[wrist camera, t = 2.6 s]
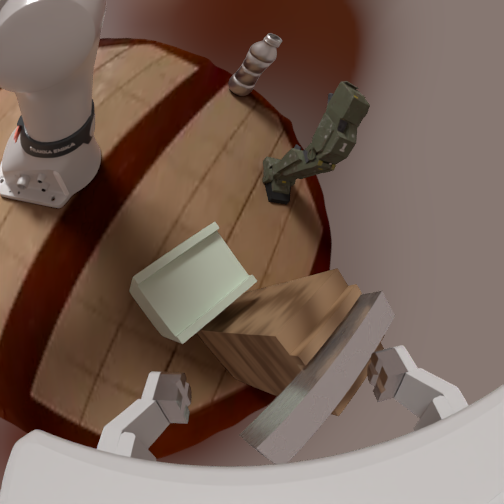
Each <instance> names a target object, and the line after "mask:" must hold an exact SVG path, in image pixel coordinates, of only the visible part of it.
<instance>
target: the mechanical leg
mask: <svg viewBox="0 0 504 504" xmlns="http://www.w3.org/2000/svg"><path fill="white" fill-rule="evenodd" d="M356 89H358V88H357V87H355V86H354V85H352V84H351V83H349V82H347V81H344V82H340V84H339V86H338V88H337V89H336V91H335V93H334V94H332V93H330V94H329V95H328V105H327V109H326V113H324V115H323V117H322V120H321V122H320V124H319V126H318V128H317V130H316V132H315V134H314V136H313V138H312V143H310V145H309V146H308V147H307V148H306V149H305V150H304V151H301V147H299V146H298V145H296V146H295V147H294V148H292V149H291V150H290V151H289V152H288V153H287V154H286V155H285V156H284V157H283V158H282V160H280V159H275V158H271V157H266V158H265V159H264V161H263V166H264V177H263V183H265V187H266V192H267V196H268V201H269V202H274V203H281V204H288V202H289V201H290V188H291V186H293V185H294V184H295V180H296V179H297V178H298V179H303V178H306V177H309V176H313V175H316V174H320V173H325V172H329V171H332V170H334V168H335V164H337V163H339V162H340V161H342V160H344V159H346V158H347V157H348V155H349V153H350V152H351V150H352V149H353V147H354V146H355V144H356V135H357V127H358V126H359V124H360V123H361V121H362V119H363V118H364V117H365V116H366V114H367V112H368V109H369V107H370V105H369V103H368V102H367V101H366V99H365V97H364V96H363V95H362V94H361V93H360V92H359V91H358V90H356ZM329 163H332V165H329Z"/></svg>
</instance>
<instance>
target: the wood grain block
mask: <svg viewBox="0 0 504 504" xmlns="http://www.w3.org/2000/svg"><path fill="white" fill-rule="evenodd" d="M361 294H362V293H361V291H360V289H359V288H358V286H357V285H356V284H355V285H351V286H348V285H347V283H346V282H345V280H344V278H343V277H342V275H341V273H340V272H339V270H338V269H333V270H330V271H326V272H323V273H319V274H315V275H312V276H308V277H304V278H300V279H296V280H293V281H289V282H285V283H281V284H277V285H273V286H269V287H265V288H261V289H257V290H253V291H249V292H245V293H243V294H242V295H241V296H239V297H238V298H237V299H236V300H235V301H234V302H232V303H231V304H230V305H229V306H228V307H226V308H225V309H224V310H223V311H222V312H221V313H219V314H218V315H217V316H216V317H215V318H213V319H212V320H211V321H210V322H209V323H207V324H206V325H205V326H204V327H203V328H201V329H200V330H199V331H198V332H197V334H198V336H199V337H200V338H201V339H202V341H203V342H204V343H205V344H206V345H207V347H208V348H209V349H210V350H211V352H212V353H213V354H214V355H215V356H216V357H217V359H218V360H219V361H220V362H221V363H222V364H223V366H224V367H225V368H226V369H227V370H228V371H229V373H230V374H231V375H232V376H233V377H234V378H235V379H236V380H239V381H241V382H243V383H246V384H248V385H250V386H253V387H255V388H258V389H260V390H263V391H265V392H268V393H270V394H273V395H276V396H279V395H280V394H281V393H282V392H283V390H284V389H285V388H286V387H287V386H288V385H289V384H290V383H291V382H292V381H293V379H294V378H295V377H296V376H297V375H298V374H299V373H300V372H301V370H302V369H303V368H304V367H305V366H306V365H307V364H308V362H309V361H310V360H311V359H312V358H313V356H314V355H315V354H316V353H317V352H318V350H319V349H320V348H321V347H322V346H323V344H324V343H325V342H326V341H327V339H328V338H329V337H330V335H331V334H332V333H333V332H334V330H335V329H336V328H337V326H338V325H339V324H340V323H341V321H342V320H343V319H344V317H345V316H346V315H347V313H348V312H349V310H350V309H351V308H352V306H353V305H354V304H355V302H356V301H357V299H358V298H359V296H360V295H361ZM383 338H384V336H383ZM383 338H382V339H383ZM382 339H381V341H382ZM381 341H380V343H379V345H378V346H377V348H376V349H375V351H374V352H376V351H380V350H383V349H384V348H383V346H382V344H381ZM370 358H371V357H370ZM371 362H372V361H371V359H369V361H368V362H367V364H366V365H365V367H364V368H363V370H362V371H361V373H360V374H359V376H358V377H357V379H356V380H355V382H354V383H353V384H352V386H351V387H350V389H349V390H348V392H347V393H346V394H345V396H344V397H343V398H342V400H341V401H340V402H339V404H338V405H337V406H336V408H335V409H334V410H333V411H332V413H331V414H333V415H336V416H339V415H340V414H341V412H342V411H343V410H344V408H345V407H346V406H347V404H348V403H349V402H350V400H351V399H352V397H353V396H354V395H355V393H356V392H357V390H358V389H359V387H360V386H361V384H362V383H363V381H364V380H365V378H366V377H367V369H368V365H369V364H370V363H371Z"/></svg>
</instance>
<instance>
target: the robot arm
mask: <svg viewBox="0 0 504 504" xmlns="http://www.w3.org/2000/svg"><path fill="white" fill-rule="evenodd" d="M105 11H106V0H0V87H1V88H3V89H5V90H7V91H11V92H15V94H16V97H17V100H18V103H19V107H20V111H21V116H20V118H19V120H18V123H17V126H18V127H17V128H16V129H15V130H14V131H13V133H12V134H11V136H10V138H9V140H8V142H7V145H6V148H5V151H4V155H3V159H2V162H1V165H0V195H1V196H2V197H6V198H11V199H15V200H20V201H25V202H30V203H35V204H40V205H44V206H49V207H54V208H61V207H63V206H64V205H65V204H66V202H67V201H68V200H69V199H70V197H71V196H72V195H73V194H75V193H76V192H78V191H79V190H81V189H82V188H84V187H85V186H86V185H87V184H89V183H90V181H91V180H92V179H93V178H94V176H95V175H96V173H97V171H98V169H99V166H100V163H101V151H100V148H99V145H98V144H97V142H96V140H95V137H94V130H95V114H94V102H93V99H92V84H93V70H94V64H95V59H96V54H97V49H98V44H99V39H100V34H101V29H102V25H103V20H104V15H105ZM2 181H3V183H1V182H2ZM53 198H55V200H54V201H52V199H53ZM370 359H371V361H372V362H371V363H370V364H369V365H368V369H367V376H368V380H369V383H370V384H371V385H373V386H374V390H373V392H374V395H375V397H376V399H377V402H380V401H384V400H387V399H391V398H394V399H395V400H396V401H398V402H399V403H400V404H402V405H403V406H404V407H406V408H407V409H408V410H410V411H411V412H412V413H413V414H415V415H416V416H417V417H419V418H420V420H419V421H418V423H417V424H416V426H415V427H414V432H411V433H409V434H406V435H403V436H400V437H398V438H395V439H392V440H389V441H386V442H383V443H380V444H377V445H373V446H369V447H366V448H362V449H359V450H355V451H351V452H347V453H342V454H338V455H333V456H328V457H323V458H318V459H312V460H305V461H299V462H292V463H282V464H273V465H259V466H195V465H182V464H173V463H164V462H156V458H155V456H154V455H153V454H152V453H151V452H150V451H149V450H148V448H149V447H150V446H151V445H152V444H153V442H154V441H155V440H156V439H157V438H158V437H159V436H160V434H161V433H162V432H163V431H164V430H165V429H166V427H167V426H168V425H169V424H170V423H188V418H189V412H190V411H189V409H188V406H189V405H190V404H191V388H190V385H189V384H188V383H187V382H186V376H185V373H178V372H156V371H151V372H150V373H149V375H148V379H147V382H146V385H145V388H144V391H143V394H142V397H141V399H137V400H136V401H135V402H134V403H133V404H131V405H130V406H129V407H128V408H127V409H125V410H124V411H123V412H122V413H121V414H119V415H118V416H117V417H116V418H114V419H113V420H112V421H111V422H110V423H108V424H107V425H106V426H105V427H104V429H103V431H102V434H101V437H100V440H99V443H98V446H97V449H94V448H91V447H87V446H84V445H81V444H78V443H74V442H71V441H68V440H66V439H63V438H60V437H57V436H55V435H52V434H50V433H47V432H45V431H42V430H33V431H31V432H30V433H28V434H27V435H25V436H24V437H22V438H21V439H19V440H18V441H17V442H16V443H15V445H14V447H13V449H12V452H11V454H10V458H9V460H8V463H7V466H6V470H5V474H4V477H3V482H2V487H1V492H0V504H504V384H503V385H501V386H500V387H498V388H497V389H496V390H494V391H492V392H491V393H489V394H488V395H486V396H485V397H483V398H481V399H479V400H478V401H476V402H474V403H472V404H471V405H468V404H467V402H466V400H465V399H464V397H463V395H462V394H461V392H460V390H459V389H458V387H456V386H454V385H452V384H450V383H448V382H446V381H444V380H443V379H441V378H439V377H437V376H435V375H433V374H431V373H429V372H427V371H425V370H423V369H422V368H419V369H418V368H417V366H416V364H415V363H414V361H413V360H412V358H411V356H410V355H409V353H408V352H407V350H406V348H405V347H404V346H403V345H401V346H397V347H393V348H388V349H384V350H380V351H376V352H373V353H372V354H371V358H370Z"/></svg>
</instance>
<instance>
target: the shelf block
mask: <svg viewBox="0 0 504 504" xmlns="http://www.w3.org/2000/svg"><path fill="white" fill-rule="evenodd" d="M218 229H219V227H218V225H217V224H216V222H213V223H212V224H210V225H209V226H207V227H206V228H204V229H203V230H201V231H200V232H198V233H196V234H195V235H193V236H192V237H190V238H189V239H187V240H186V241H184V242H183V243H181V244H180V245H178V246H177V247H175V248H174V249H172V250H171V251H169V252H168V253H166V254H165V255H164V256H162V257H161V258H159V259H158V260H156V261H155V262H153V263H152V264H150V265H149V266H148V267H146V268H145V269H143V270H142V271H140V272H139V273H138V274H136V275H135V276H133V278H132V282H131V286H130V290H129V292H130V294H131V295H132V296H133V298H134V299H135V301H136V302H137V304H138V305H139V306H140V308H141V309H142V310H143V312H144V313H145V315H146V316H147V317H148V319H149V320H150V321H151V323H152V324H153V325H154V326H155V328H156V329H157V330H158V332H159V333H160V334H161V335H162V336H163V337H166V338H168V339H171V340H174V341H176V342H179V343H181V344H183V343H185V342H186V341H187V340H188V339H189V338H191V337H192V336H193V335H194V334H195V333H197V332H198V331H199V330H200V329H201V328H203V327H204V326H205V325H206V324H207V323H209V322H210V321H211V320H212V319H213V318H215V317H216V316H217V315H218V314H219V313H221V312H222V311H223V310H224V309H225V308H226V307H228V306H229V305H230V304H231V303H232V302H234V301H235V300H236V299H237V298H238V297H239V296H241V295H242V294H243V293H244V292H245V291H246V290H248V289H249V288H250V287H251V286H252V285H253V284H254V283H256V282H257V280H256V279H255V277H254V276H253V275H250V276H249V275H248V274H247V273H246V271H245V270H244V268H243V267H242V266H241V264H240V263H239V261H238V260H237V259H236V257H235V256H234V254H233V253H232V252H231V250H230V249H229V247H228V246H227V245H226V243H225V242H224V240H223V239H222V237H221V236H220V235H219V233H218V232H217V230H218Z"/></svg>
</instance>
